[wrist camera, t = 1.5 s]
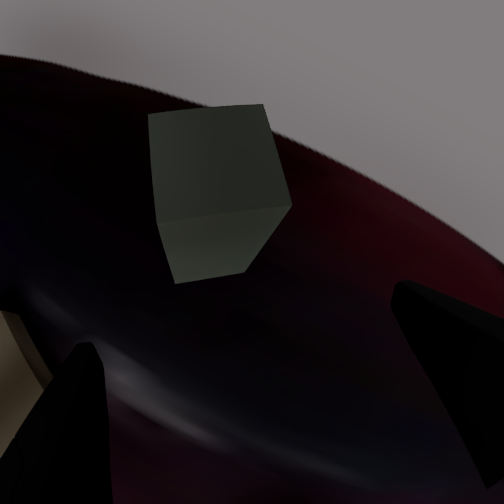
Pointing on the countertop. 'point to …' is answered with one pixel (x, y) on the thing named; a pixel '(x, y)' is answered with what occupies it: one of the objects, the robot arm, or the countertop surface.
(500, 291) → the countertop surface
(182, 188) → the sage block
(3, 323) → the oak block
